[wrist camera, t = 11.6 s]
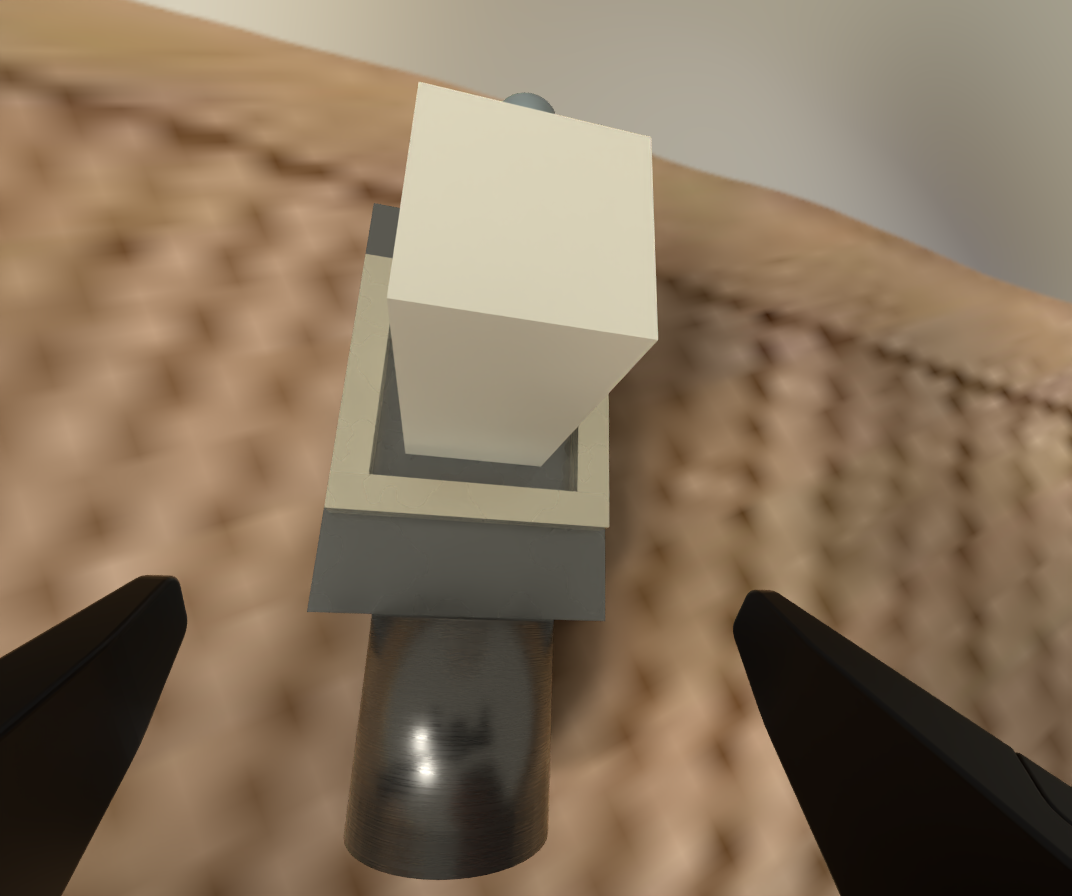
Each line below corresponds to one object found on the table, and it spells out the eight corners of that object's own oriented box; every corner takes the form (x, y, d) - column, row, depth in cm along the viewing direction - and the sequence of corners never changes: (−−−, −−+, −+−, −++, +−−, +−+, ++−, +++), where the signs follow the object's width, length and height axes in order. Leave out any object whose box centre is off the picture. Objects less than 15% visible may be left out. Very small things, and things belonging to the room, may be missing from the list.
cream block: (540, 466, 19) (658, 340, 9) (405, 453, 18) (386, 297, 8) (547, 305, 21) (648, 70, 11) (426, 286, 20) (429, 12, 11)
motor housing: (578, 784, 19) (644, 865, 13) (295, 794, 17) (232, 895, 11) (584, 285, 25) (630, 196, 20) (379, 250, 23) (366, 140, 18)
